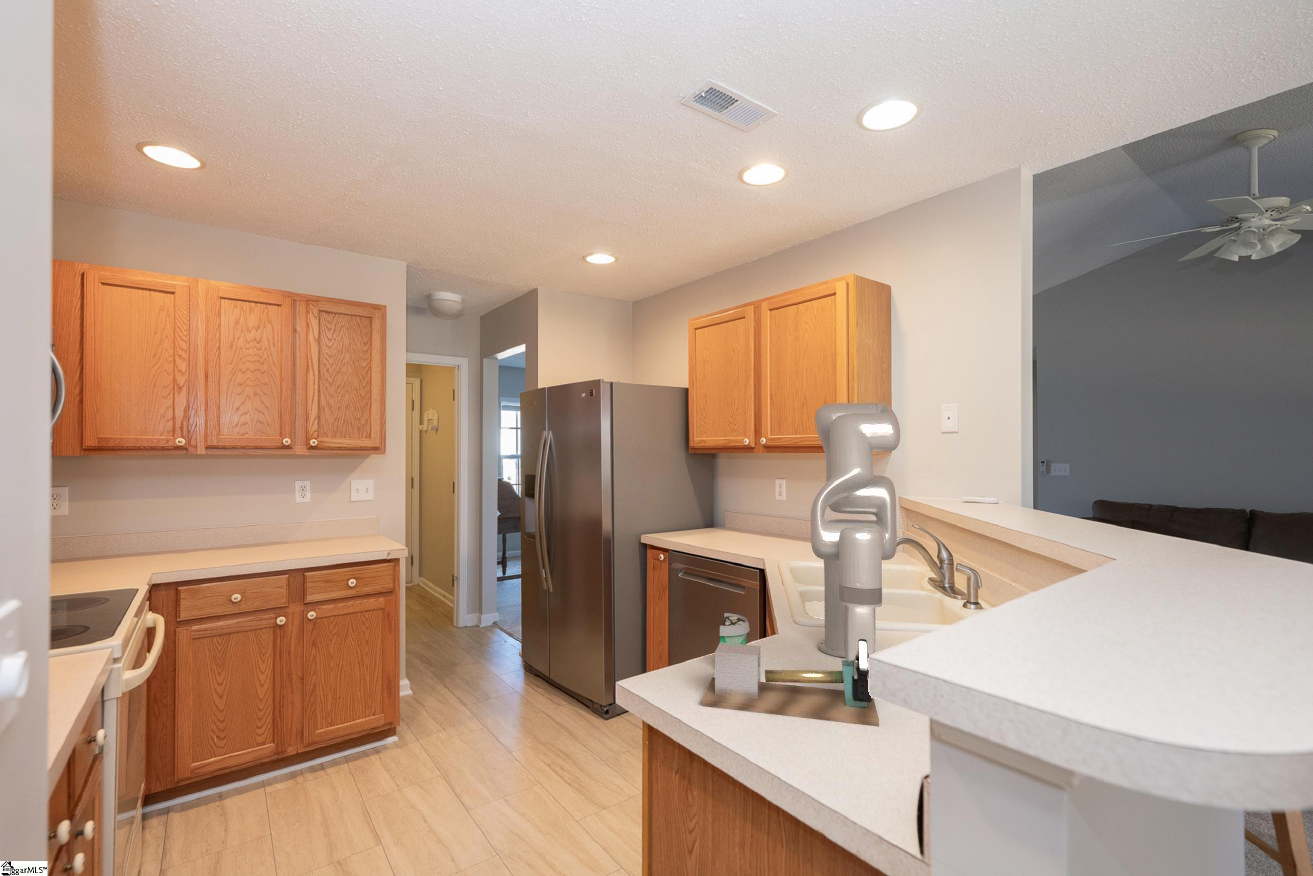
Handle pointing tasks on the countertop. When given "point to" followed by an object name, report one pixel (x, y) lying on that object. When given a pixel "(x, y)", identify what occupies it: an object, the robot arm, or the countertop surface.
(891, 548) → the robot arm
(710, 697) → the walnut board
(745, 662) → the block
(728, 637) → the food container
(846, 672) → the brass rod with block
